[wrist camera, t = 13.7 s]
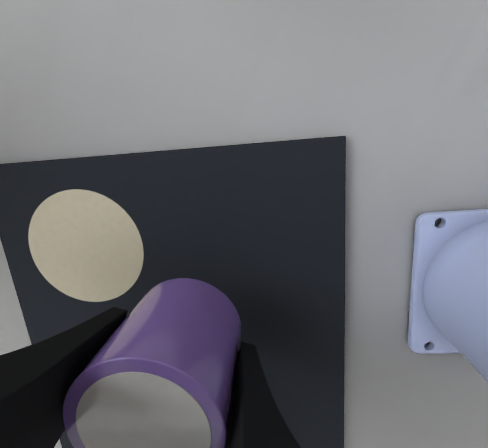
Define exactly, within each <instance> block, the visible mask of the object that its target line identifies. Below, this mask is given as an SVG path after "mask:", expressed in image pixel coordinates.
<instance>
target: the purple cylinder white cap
mask: <svg viewBox="0 0 488 448" xmlns="http://www.w3.org/2000/svg"><path fill="white" fill-rule="evenodd" d="M240 339H241V322H240V318H239V315H238V312H237V310H236V308H235V307H234V305H233V303H232V302H231V301H230V300H229V298H228V297H227V296H226V295H225V294H224V293H223V292H221V291H220V290H219V289H217V288H216V287H214V286H212V285H210V284H208V283H206V282H203V281H200V280H196V279H190V278H178V279H171V280H167V281H164V282H162V283H160V284H158V285H156V286H154V287H153V288H152V289H150V290H149V291H148V292H147V293H146V294H145V295H144V296H143V298H142V299H141V300H140V301H139V302H138V304H137V305H136V306H135V307H134V309H133V310H132V311H131V312H130V313H129V315H128V316H127V317H126V318H125V319H124V321H123V322H122V323H121V324H120V326H119V327H118V328H117V329H116V330H115V332H114V333H113V334H112V335H111V336H110V338H109V339H108V340H107V341H106V342H105V344H104V345H103V346H102V347H101V349H100V350H99V351H98V352H97V353H96V355H95V356H94V357H93V358H92V359H91V361H90V362H89V363H88V364H87V365H86V367H85V368H84V369H83V370H82V372H81V373H80V374H79V375H78V376H77V378H76V379H75V380H74V381H73V383H72V384H71V386H70V387H69V389H68V392H67V394H66V397H65V400H64V404H63V422H64V427H65V431H66V433H67V436H68V438H69V440H70V442H71V444H72V446H73V447H74V448H225V447H226V440H227V433H228V425H229V418H230V411H231V404H232V397H233V389H234V382H235V375H236V367H237V360H238V353H239V346H240Z"/></svg>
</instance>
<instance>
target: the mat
mask: <svg viewBox="0 0 488 448" xmlns="http://www.w3.org/2000/svg"><path fill="white" fill-rule="evenodd" d="M345 159H346V137H345V136H338V137H326V138H314V139H302V140H290V141H277V142H265V143H253V144H241V145H229V146H217V147H204V148H192V149H180V150H168V151H156V152H144V153H131V154H119V155H107V156H95V157H83V158H71V159H58V160H46V161H34V162H22V163H10V164H0V238H1V242H2V245H3V248H4V252H5V255H6V258H7V262H8V265H9V269H10V272H11V275H12V279H13V282H14V286H15V289H16V292H17V296H18V299H19V303H20V306H21V309H22V313H23V316H24V320H25V323H26V326H27V330H28V333H29V337H30V340H31V343H32V345H33V344H35V343H38V342H41V341H43V340H46V339H48V338H50V337H52V336H55V335H57V334H59V333H61V332H64V331H66V330H68V329H70V328H72V327H74V326H76V325H79V324H81V323H83V322H85V321H87V320H89V319H90V318H92V317H94V316H96V315H98V314H100V313H102V312H104V311H106V310H108V309H110V308H112V307H117V308H121V309H124V310H128V311H127V316H128V315H129V313H130V312H131V311H132V310H133V309H134V307H135V306H136V305H137V304H138V302H139V301H140V300H141V299H142V298H143V296H144V295H145V294H146V293H147V292H148V291H149V290H150V289H152V288H153V287H154V286H156V285H158V284H160V283H162V282H164V281H167V280H171V279H178V278H190V279H196V280H200V281H203V282H206V283H208V284H210V285H212V286H214V287H216V288H217V289H219V290H220V291H221V292H223V293H224V294H225V295H226V296H227V297H228V298H229V300H230V301H231V302H232V303H233V305H234V307H235V308H236V310H237V312H238V315H239V318H240V322H241V339H240V345H241V342H245V343H249V344H253V345H256V347H257V349H258V354H259V358H260V361H261V364H262V368H263V371H264V374H265V376H266V379H267V382H268V384H269V387H270V390H271V392H272V395H273V397H274V399H275V401H276V404H277V406H278V408H279V410H280V412H281V414H282V416H283V418H284V420H285V422H286V424H287V425H288V427H289V429H290V431H291V432H292V434H293V436H294V438H295V439H296V441H297V442H298V444H299V445H300V447H301V448H344V320H345ZM239 349H240V346H239ZM60 442H61V445H62V448H74V447H73V446H72V444H71V442H70V440H69V438H68V436H67V433H66V431H64V432H63V434H62V435H61V437H60Z"/></svg>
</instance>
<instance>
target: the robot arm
mask: <svg viewBox="0 0 488 448" xmlns="http://www.w3.org/2000/svg"><path fill="white" fill-rule="evenodd" d="M438 218H441V223H440V224H439V225H438V226H435V224H434V223H435V221H436V220H437V219H438ZM127 311H128V310H124V309H121V308H117V307H112V308H110V309H108V310H106V311H104V312H102V313H100V314H98V315H96V316H94V317H92V318H90V319H89V320H87V321H85V322H83V323H81V324H79V325H76V326H74V327H72V328H70V329H68V330H66V331H64V332H61V333H59V334H57V335H55V336H52V337H50V338H48V339H46V340H43V341H41V342H38V343H35V344H33V345H30V346H27V347H25V348H22V349H19V350H16V351H13V352H10V353H7V354H3V355H0V448H54V446H55V445H56V443H57V442H58V440H59V438H60V437H61V435H62V434H63V432H64V431H65V427H64V422H63V404H64V400H65V397H66V394H67V392H68V389H69V387H70V386H71V384H72V383H73V381H74V380H75V379H76V378H77V376H78V375H79V374H80V373H81V372H82V370H83V369H84V368H85V367H86V365H87V364H88V363H89V362H90V361H91V359H92V358H93V357H94V356H95V355H96V353H97V352H98V351H99V350H100V349H101V347H102V346H103V345H104V344H105V342H106V341H107V340H108V339H109V338H110V336H111V335H112V334H113V333H114V332H115V330H116V329H117V328H118V327H119V326H120V324H121V323H122V322H123V321H124V319H125V318H126V317H127ZM428 342H430V344H429V345H426V346H425V344H426V343H428ZM407 343H408V346H409V348H410V349H411V350H412V352H414V353H418V354H426V353H461V354H462V355H463V356H464V357H465V358H466V360H467V361H468V362H469V363H470V364H471V365H472V366H473V367H474V368H475V369H476V370H477V371H478V372H479V373H480V374H481V375H482V377H483V378H484V379H485V380H486V381H487V382H488V209H475V210H458V211H441V212H426V213H422V214H421V215H419V216H418V218H417V219H416V222H415V237H414V252H413V267H412V282H411V297H410V312H409V327H408V342H407ZM225 448H301V447H300V445H299V444H298V442H297V441H296V439H295V438H294V436H293V434H292V432H291V431H290V429H289V427H288V425H287V424H286V422H285V420H284V418H283V416H282V414H281V412H280V410H279V408H278V406H277V404H276V401H275V399H274V397H273V395H272V392H271V390H270V387H269V384H268V382H267V379H266V376H265V374H264V371H263V368H262V364H261V361H260V358H259V354H258V349H257V347H256V345H253V344H249V343H245V342H241V345H240V349H239V353H238V360H237V367H236V375H235V382H234V389H233V397H232V404H231V411H230V418H229V425H228V433H227V440H226V447H225Z"/></svg>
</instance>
